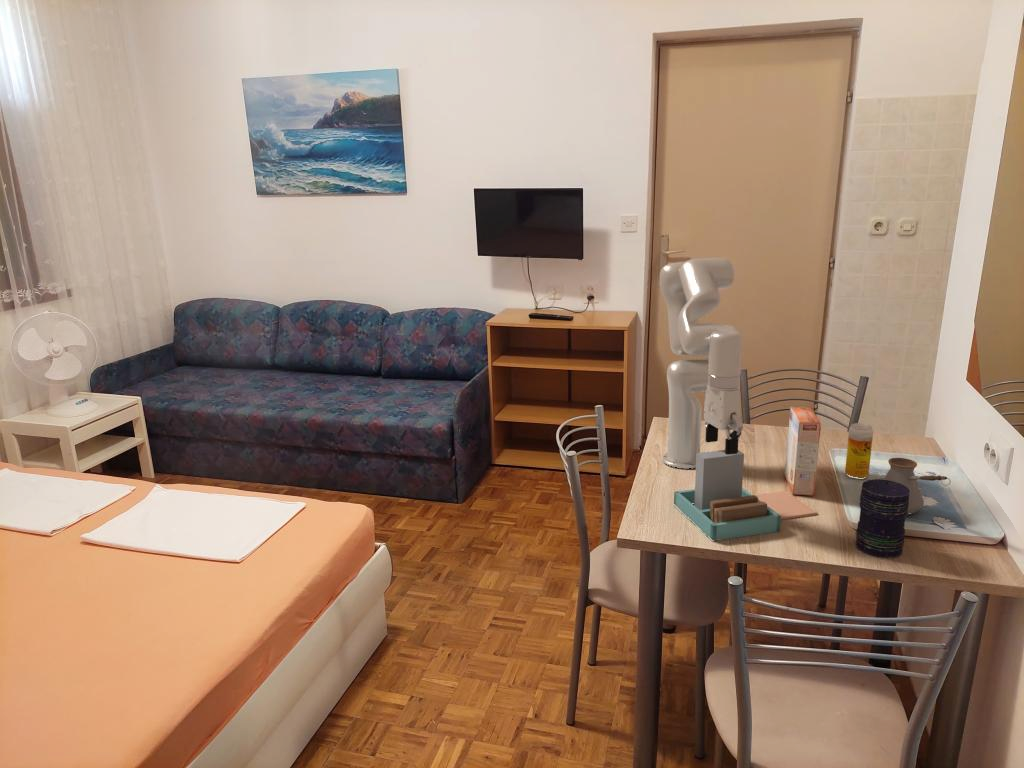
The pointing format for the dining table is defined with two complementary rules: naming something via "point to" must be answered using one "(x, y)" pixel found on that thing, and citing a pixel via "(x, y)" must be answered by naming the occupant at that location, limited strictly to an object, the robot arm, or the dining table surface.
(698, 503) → the grey block
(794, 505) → the mat
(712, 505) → the offcut slab
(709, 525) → the rack
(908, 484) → the coffee pot
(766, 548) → the dining table surface
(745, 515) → the offcut slab
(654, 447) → the dining table surface
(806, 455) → the cracker box
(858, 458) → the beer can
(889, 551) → the dark-blue ribbed cylinder
